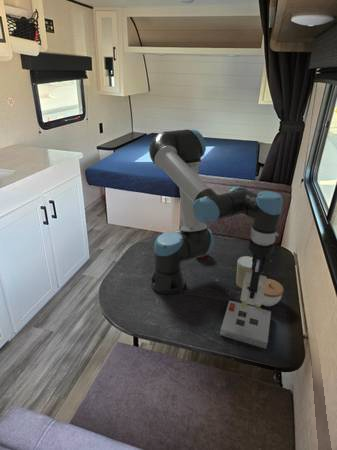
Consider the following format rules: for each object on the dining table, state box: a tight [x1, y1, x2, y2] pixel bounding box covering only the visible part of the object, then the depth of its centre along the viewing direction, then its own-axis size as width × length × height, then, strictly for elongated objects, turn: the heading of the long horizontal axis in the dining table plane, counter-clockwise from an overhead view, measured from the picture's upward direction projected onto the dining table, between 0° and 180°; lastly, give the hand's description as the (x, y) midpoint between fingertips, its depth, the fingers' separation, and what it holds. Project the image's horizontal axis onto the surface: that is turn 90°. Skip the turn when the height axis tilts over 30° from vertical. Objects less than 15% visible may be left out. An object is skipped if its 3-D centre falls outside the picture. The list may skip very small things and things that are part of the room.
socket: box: [219, 300, 272, 350], centre depth 110 cm, size 16×16×4 cm
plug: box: [240, 272, 268, 309], centre depth 103 cm, size 7×6×11 cm
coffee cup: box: [235, 255, 253, 289], centre depth 130 cm, size 9×9×12 cm
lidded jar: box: [261, 278, 285, 307], centre depth 121 cm, size 11×11×9 cm
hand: (251, 297), depth 104 cm, fingers closed on plug, 6 cm apart
